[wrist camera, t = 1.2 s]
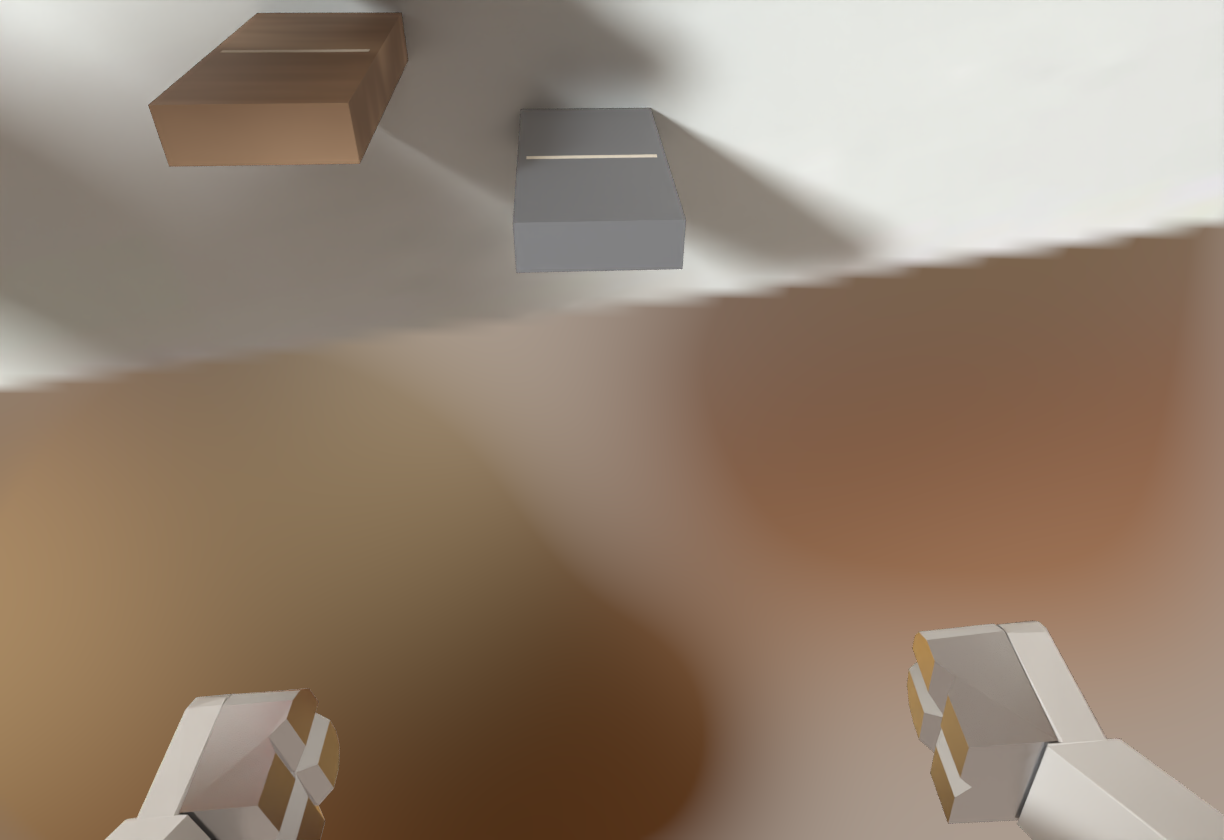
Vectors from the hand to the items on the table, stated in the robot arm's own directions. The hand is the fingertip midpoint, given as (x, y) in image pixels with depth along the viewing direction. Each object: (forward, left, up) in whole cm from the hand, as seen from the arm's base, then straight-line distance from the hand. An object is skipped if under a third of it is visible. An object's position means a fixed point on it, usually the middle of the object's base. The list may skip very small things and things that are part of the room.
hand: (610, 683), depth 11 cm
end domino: (+1, -1, -25) cm, 26 cm away
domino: (-8, +2, -25) cm, 27 cm away
